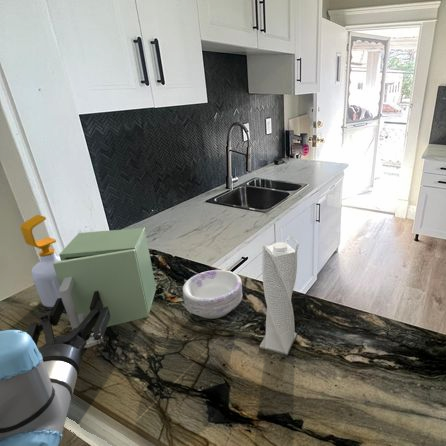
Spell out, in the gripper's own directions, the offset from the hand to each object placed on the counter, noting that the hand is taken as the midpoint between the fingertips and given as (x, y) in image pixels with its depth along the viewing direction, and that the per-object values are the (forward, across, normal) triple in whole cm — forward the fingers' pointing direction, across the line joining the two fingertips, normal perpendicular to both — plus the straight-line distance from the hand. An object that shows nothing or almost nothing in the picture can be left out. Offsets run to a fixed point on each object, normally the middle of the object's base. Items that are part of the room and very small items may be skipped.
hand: (79, 299), depth 73 cm
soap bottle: (+18, -10, -10) cm, 23 cm away
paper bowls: (-2, +30, -10) cm, 32 cm away
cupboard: (+9, +6, -10) cm, 15 cm away
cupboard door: (-2, +5, -10) cm, 11 cm away
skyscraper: (-21, +42, -10) cm, 48 cm away
